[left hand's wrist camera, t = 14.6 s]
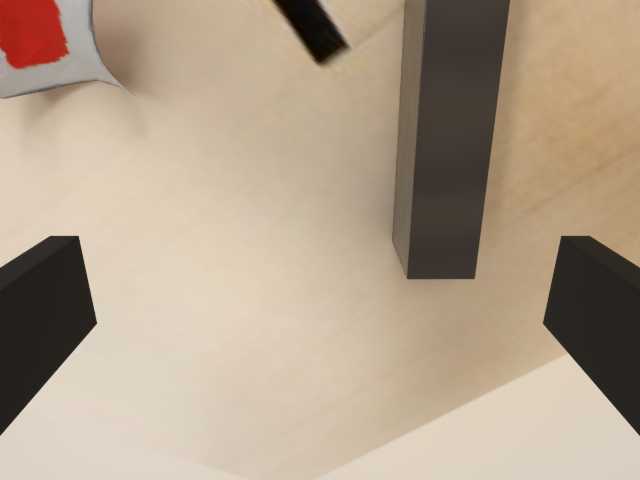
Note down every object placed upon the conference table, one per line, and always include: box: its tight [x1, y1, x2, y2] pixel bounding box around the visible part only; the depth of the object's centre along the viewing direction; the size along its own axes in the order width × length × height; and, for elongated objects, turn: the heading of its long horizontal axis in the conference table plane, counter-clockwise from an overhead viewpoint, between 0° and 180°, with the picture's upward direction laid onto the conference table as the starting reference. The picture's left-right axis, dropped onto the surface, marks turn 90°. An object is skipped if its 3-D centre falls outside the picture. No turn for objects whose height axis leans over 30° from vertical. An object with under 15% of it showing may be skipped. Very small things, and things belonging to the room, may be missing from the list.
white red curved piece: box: [0, 0, 136, 98], centre depth 27 cm, size 11×16×10 cm
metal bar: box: [392, 0, 510, 279], centre depth 28 cm, size 28×4×7 cm, turn 0°
